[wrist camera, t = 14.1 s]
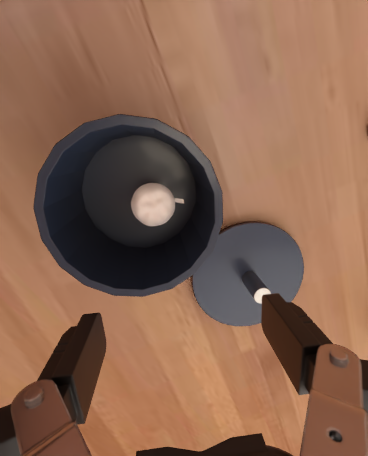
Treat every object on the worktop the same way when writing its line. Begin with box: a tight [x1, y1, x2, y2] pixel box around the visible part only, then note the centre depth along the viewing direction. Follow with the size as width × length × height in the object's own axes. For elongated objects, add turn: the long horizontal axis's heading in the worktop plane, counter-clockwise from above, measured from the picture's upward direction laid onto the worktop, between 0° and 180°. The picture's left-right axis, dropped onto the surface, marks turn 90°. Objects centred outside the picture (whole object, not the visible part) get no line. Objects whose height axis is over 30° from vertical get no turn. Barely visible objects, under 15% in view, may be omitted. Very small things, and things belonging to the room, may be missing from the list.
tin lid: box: [192, 222, 304, 326], centre depth 36 cm, size 18×18×6 cm
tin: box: [34, 114, 223, 297], centre depth 28 cm, size 17×17×12 cm
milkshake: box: [131, 181, 184, 226], centre depth 29 cm, size 4×5×10 cm
